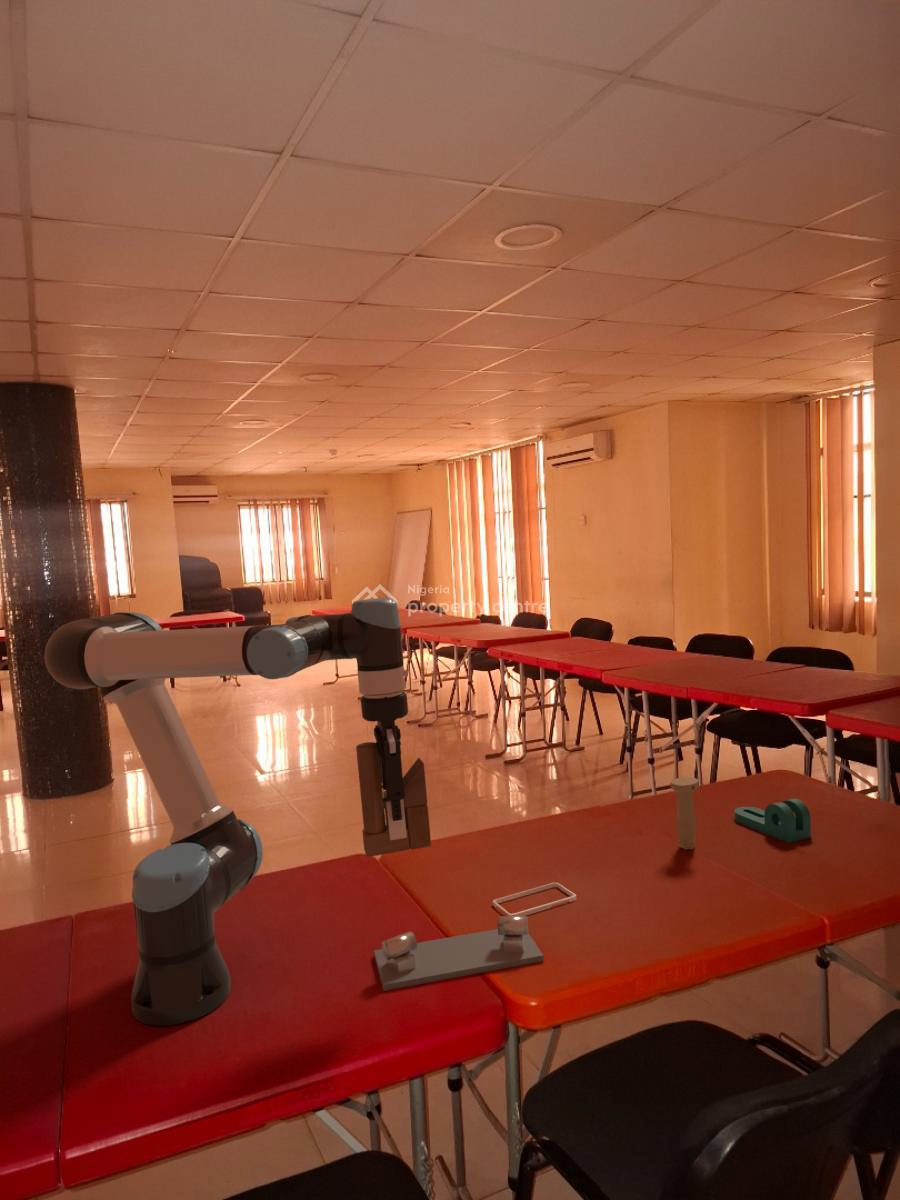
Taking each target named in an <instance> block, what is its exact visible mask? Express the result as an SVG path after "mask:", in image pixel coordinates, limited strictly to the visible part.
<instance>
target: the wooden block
mask: <svg viewBox="0 0 900 1200" xmlns="http://www.w3.org/2000/svg"><path fill="white" fill-rule="evenodd" d="M355 749H356V761H357V768H358V769H357V770H358V781H359V791H360V792H359V794H360V801H361V812H362V824H363V829H362V831H361V832H362V841H363V842H362V843H363V850H364V852H365V853H364V854H365V855H366V857H367V858H370V857H375V856H382V855H386V854H387V855H388V854H392V853H399V852H404V851H409V850H417V849H418V850H419V849H422V848H423V849H424V848H427V847H431V845H432V838H431V829H430V828H431V827H430V817H429V816H430V815H429V805H428V796H427V795H428V794H427V793H428V792H427V785H426V784H427V783H426V773H425V763H424V761H423V760H422V759H421V758H420V757H417V759H416V760H415V762H414V763H413V764H412V765H411V767H410V768H409V769H408V771H407V772H406V773H405V774H404V776H403V787H404V793H405V798H404V799H403V801H404V812H405V823H406V834H407V838H402V839H395V840H390V836H389V825H386V819H385V811H387V804H386V802H383V788H382V785H383V784H382V781H381V771H380V760H379V750H378V744H377V743H376V742H374V741H368V742H366V741H365V742H362V743H360V744H357V745H356V748H355Z"/></svg>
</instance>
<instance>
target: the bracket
mask: <svg viewBox="0 0 900 1200" xmlns="http://www.w3.org/2000/svg"><path fill="white" fill-rule="evenodd" d="M734 821H735V822H736V823H739V824H741V825H743V826H745V827H748V828H751V829H753V830H756V831H757V832H760V833H762V834H764V835H767V836H771V837H772V838H775V839H778V840H780V841H783V842H785V843H788V844H790V843H795V842H798V841H801V840H805V839H808V838H811V837H812V833H811V832H812V831H811V830H812V828H811V827H812V826H811V814H810V810H809V808H808V807H807V804H806V803H805V802H804V801H802V800H800V799H798V798H790V799H786V800H783V801H782V802H775V803H771V804H768V805H767V806H766V807H765V809H761V808H758V807H754V806H753V807H752V806H741V807H737V808H734Z"/></svg>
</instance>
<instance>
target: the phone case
mask: <svg viewBox="0 0 900 1200" xmlns="http://www.w3.org/2000/svg"><path fill="white" fill-rule="evenodd" d="M553 888H558V889H559V890H560V891H562V892H563V893H564V894H567V895H568V897H564V898H562V899H558V900H556V901H555V900H554V901H552V902H549V903H545V904H541V905H538V906H535V907H531V908H529V909H525V910H522V911H518V912H514V913H510V912H509V911H507V910H506V909H505V908H504V907H502V906H501V905H500V904H501V903H505V902H507V901H511V900H514V899H518V898H523V897H524V896H529V895H533V894H536V893H538V892H539V893H540V892H542V891H547V890H550V889H553ZM567 901H568V903H573V902H575V901H577V894H576V893H574V892H572V891H570V890H569V889H567V888H566V887H565V886H563V885H562V884H560V883H559V882H551V883H548V884H544V885H541V886H537V887H534V888H531V889H527V890H523V891H520V892H517V893H512V894H509V895H506V896H503V897H499V898H496V899H493V900H492V906H493V907H494V908H497V907H498V908H499V909H500V910H501V911H503V912H504V913H505V914H506V915H507V916H530V915H533V914H536V913H539V912H542V911H543V912H544V911H546V910H549V909H552V906H554V905H557V904H562V903H565V902H567Z"/></svg>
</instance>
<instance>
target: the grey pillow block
mask: <svg viewBox="0 0 900 1200" xmlns="http://www.w3.org/2000/svg"><path fill="white" fill-rule="evenodd" d="M417 943H418V941H417V938H416V935H415V934H414V932H413V931H411V930H410V931H407V932H403V933H402V934H399V935H397V936H396V935H395V936H394V937H391V938H388V939H386V940H383V941H382V942H381V949H382V951H383V954H384V956H385V958H386V964H387V965H388V966H390V967H391V968H392V969H393V970H394V971H395V972H396V973H397V974H398V975H400V974H402V973H405V972H407V971H410V970H412V969H415V968H416V963H415V956H414V955H413V954H412V953H410V952H411V951H414V950H416V949H417Z"/></svg>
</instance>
